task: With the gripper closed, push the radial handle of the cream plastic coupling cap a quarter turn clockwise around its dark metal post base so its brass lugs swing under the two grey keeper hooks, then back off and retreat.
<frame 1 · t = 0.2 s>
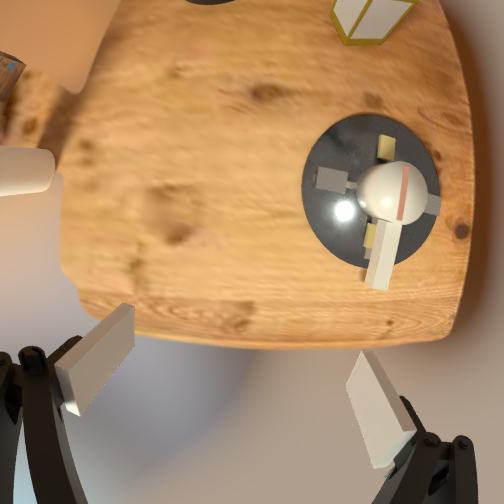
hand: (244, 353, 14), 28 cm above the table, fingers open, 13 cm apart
milk carton: (10, 78, 35), on the table
soap bottle: (368, 29, 32), on the table
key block: (388, 207, 34), point 5 cm above the table, hinge at 0.0°
container: (42, 170, 40), on the table
post base: (376, 191, 39), on the table
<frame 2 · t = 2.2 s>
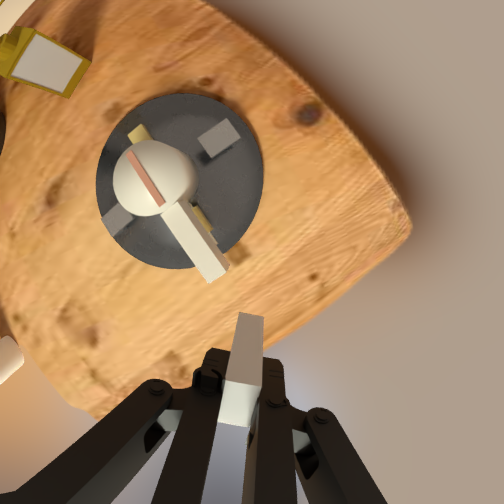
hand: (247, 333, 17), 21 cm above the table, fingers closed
soap bottle: (78, 62, 31), on the table
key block: (168, 193, 30), point 5 cm above the table, hinge at 0.0°
container: (14, 350, 45), on the table
post base: (172, 179, 35), on the table
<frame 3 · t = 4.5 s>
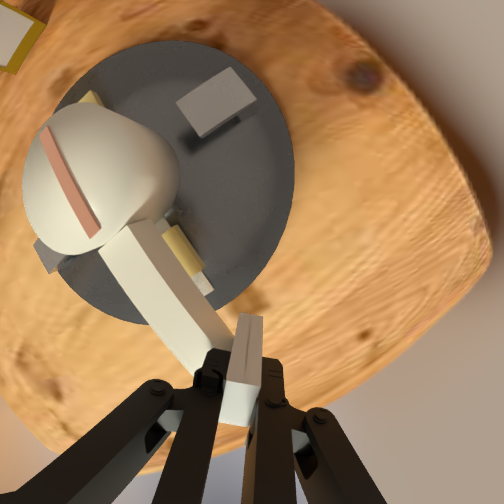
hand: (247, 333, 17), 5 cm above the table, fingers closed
soap bottle: (32, 29, 16), on the table
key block: (118, 206, 15), point 5 cm above the table, hinge at 0.4°, touching gripper
post base: (137, 179, 20), on the table
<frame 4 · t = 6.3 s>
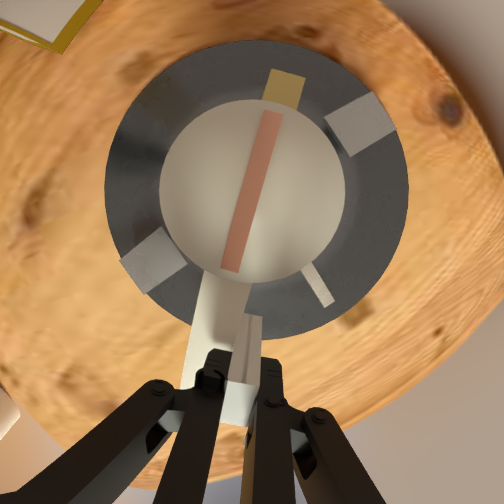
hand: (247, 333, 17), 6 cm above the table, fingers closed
soap bottle: (80, 5, 15), on the table
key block: (242, 227, 15), point 5 cm above the table, hinge at 49.7°, touching gripper
container: (6, 400, 30), on the table
post base: (255, 188, 20), on the table
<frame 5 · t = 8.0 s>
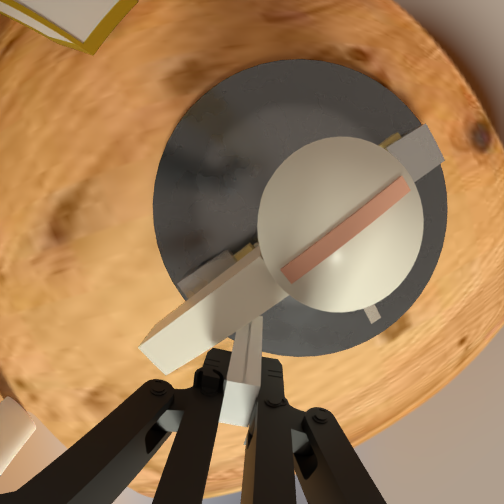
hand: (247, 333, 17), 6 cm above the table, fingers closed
soap bottle: (111, 4, 16), on the table
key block: (298, 242, 15), point 5 cm above the table, hinge at 85.6°, touching gripper
container: (20, 413, 30), on the table
post base: (313, 211, 20), on the table
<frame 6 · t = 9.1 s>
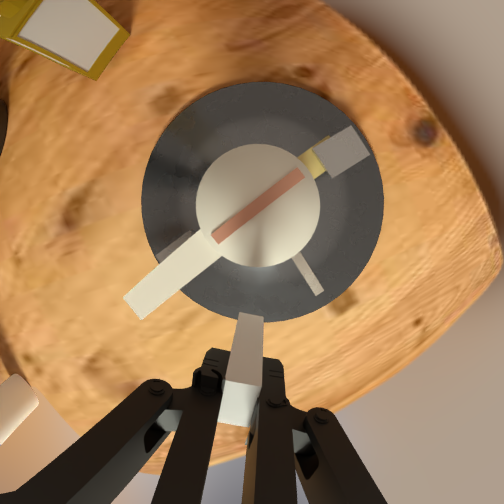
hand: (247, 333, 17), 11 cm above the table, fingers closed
soap bottle: (109, 35, 23), on the table
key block: (237, 221, 21), point 5 cm above the table, hinge at 85.6°
container: (25, 389, 37), on the table
post base: (261, 201, 26), on the table
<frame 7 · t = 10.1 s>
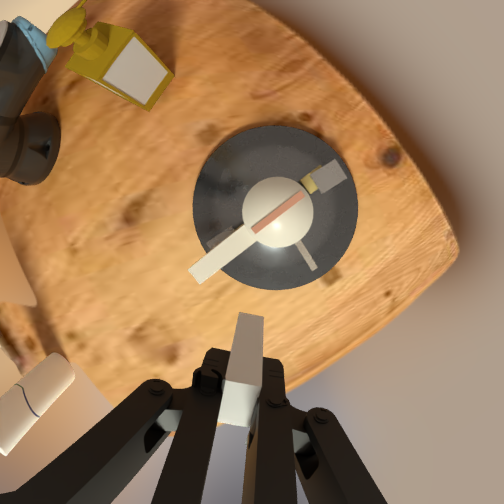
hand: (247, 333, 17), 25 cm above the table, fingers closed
soap bottle: (156, 73, 36), on the table
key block: (263, 221, 35), point 5 cm above the table, hinge at 85.6°
container: (62, 367, 50), on the table
post base: (276, 208, 39), on the table
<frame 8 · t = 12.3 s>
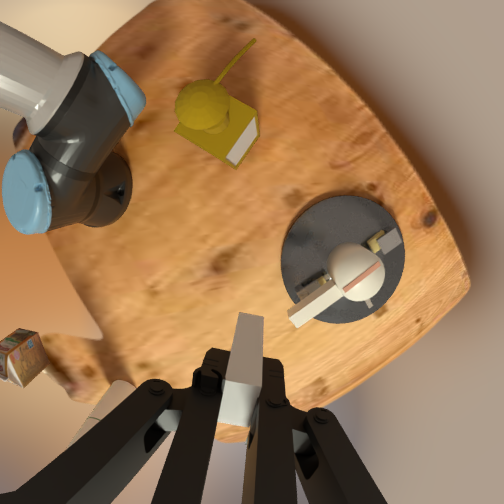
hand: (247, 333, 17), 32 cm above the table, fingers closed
milk carton: (34, 345, 58), on the table
soap bottle: (239, 129, 44), on the table
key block: (344, 278, 43), point 5 cm above the table, hinge at 85.6°
container: (126, 392, 59), on the table
post base: (346, 261, 48), on the table
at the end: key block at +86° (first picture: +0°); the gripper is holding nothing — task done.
